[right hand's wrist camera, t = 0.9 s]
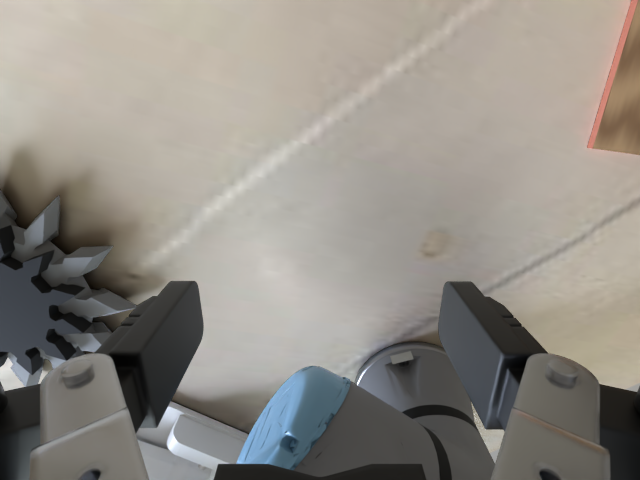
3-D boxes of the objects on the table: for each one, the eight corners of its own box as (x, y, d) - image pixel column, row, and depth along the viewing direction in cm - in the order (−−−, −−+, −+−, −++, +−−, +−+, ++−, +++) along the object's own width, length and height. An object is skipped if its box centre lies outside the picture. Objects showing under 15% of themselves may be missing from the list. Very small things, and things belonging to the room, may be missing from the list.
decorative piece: (-122, 107, 31) (176, 278, 38) (-76, 107, 35) (189, 263, 41) (-178, 335, 40) (72, 444, 46) (-136, 316, 44) (90, 420, 50)
